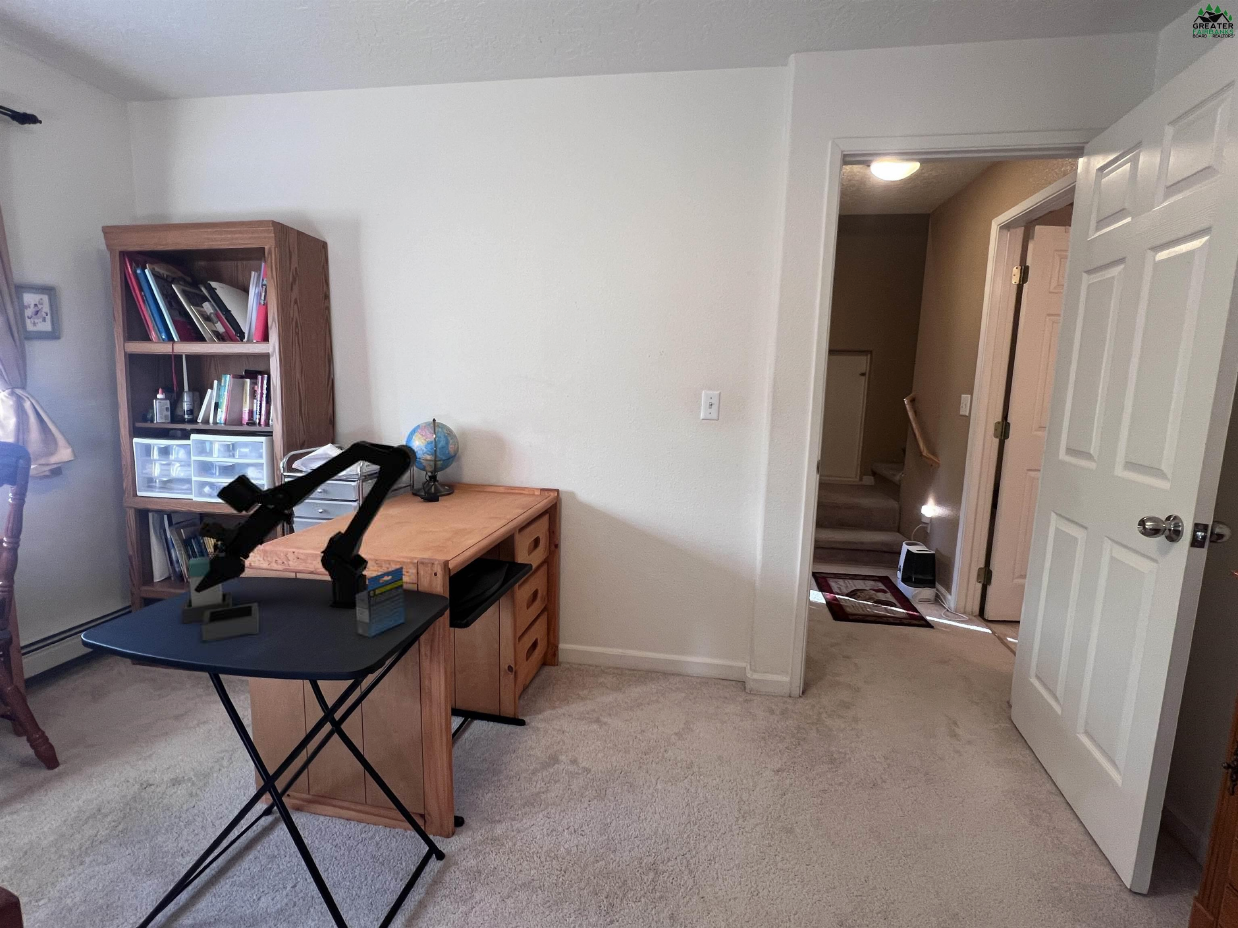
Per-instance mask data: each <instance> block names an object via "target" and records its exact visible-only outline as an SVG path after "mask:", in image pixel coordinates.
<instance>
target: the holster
mask: <svg viewBox="0 0 1238 928" xmlns="http://www.w3.org/2000/svg"><path fill="white" fill-rule="evenodd" d="M222 600H223V602H222V603H216V604H209V605H202V606H195V607H192V600H191V596H190V597H185V599H184V602H183V604H182V608H181V616H182V624H191V623H196V622H202V621H203V617H204V612H205V611H207V610H213V609H220V608H226V607H233V600H232V591H228V592H222Z"/></svg>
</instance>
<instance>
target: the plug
mask: <svg viewBox="0 0 1238 928" xmlns="http://www.w3.org/2000/svg"><path fill="white" fill-rule="evenodd" d="M210 557H212V555H210V556H203V557H194V558H193V557H192V558H190V559H189V561H188V574H189V588H190V597H191V600H192V607H195V606H202V605H209V604H216V603H222V602H223V600H222V593H223V589H222V583H221V584H218V585H216V586H214V587H212V588H209V589H207V590H205V591H202V592H200V593H197V592H196V591H194V589H195V588H196V586H197V585H198V584H199V582H200V581H201V579H202V578H203V577H204V575H205V574H206V573H207V571H208V570H209V569H210V565H209V559H210Z"/></svg>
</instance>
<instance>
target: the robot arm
mask: <svg viewBox="0 0 1238 928" xmlns="http://www.w3.org/2000/svg"><path fill="white" fill-rule="evenodd" d="M417 460H418V455H417V452H416V451H415V449H414V448H413V447H412V446H410V445H408V444H399V445H396V446H395V445H389V444H383V443H376V442H370V441H368V440H359V441H356V442H354V443H353V442H352V444H351V445H350V446H349V447H348V448H346V449H344V450H342V451H341V452H340V453H337V454H336V455H335V456H332V457H331V458H329V459H328V460H327V461H324V462H323V463H321V464H320V465H319V466H317V467H315V468H313V469H312V470H310V471H309V472H307V473H306V474H303V475H300V476H297V477H295V478H293V479H290V480H288V481H285V482H283V483H280V484H277V485H275V486H274V487H272V488H271V487H269V488H266V489H262V488H260V487H259V486H258V485H257V484H255V483H254V482H253V481H252V480H251V479H250V478H249V477H248V476H247V475H246V474H243V473H242V474H240V475H238V476H237V477H236V478H235V479H233V480H232V481H230V482H229V483H228V484H226V485H225V486H223V487H221V489H220V490H219V491H218V492H217V494H216V497H217V498H218V499H220V500H221V501H222V502H224V503H225V504H226V505H228V507H230V508H231V509H233V511H235V512H236V513H237V514H243V513H246V514H249V513H250V514H249V516H248V517H246V518H245V519H244V520H241V521H238V522H237V523H236V524H232V523H228V522H225V521H222V520H219V519H215V518H211V517H204V519H203V521H202V522H201V525H200V527H199V529H198V530H197V532H196V533H197V534H196V535H197V537H201V538H204V539H205V538H208V539H211V540H214V542H213V544H212V547H213V548H212V549H213V554H212V555H211V556H212V557H210V556H209V557H210V559H209V565H210V569H209V570H208V571H207V573H206V574H205V575H204V577H203V578H202V579H201V581H200V582H199V584H198V585H197V586H196V588H195V589H194V591H196V592H197V593H200V592H202V591H205V590H207V589H209V588H212V587H214V586H216V585H218V584H221V585H222V584H223V583H225V582H227V581H230V580H234V579H239V578H240V577H241V576H242V575H243V574H244V573H245V572H246V561H247V560H248V559H249V558H250V555H251V553H253V552H254V551H255V550H256V549H257V548H258V547H259V546H262V545H264V544H265V543H266V540H267V538H268V537H269V536H270V535H271V534H273V532H274V531H275V530H277V528H278V527H280V525H281V524H282V523H283V522H284V523H285V524H286V525H287V526H293V525H295V518H294V516H295V512H289V513H288V512H287V511H289V510H292V509H294V508H296V507H298V506H300V505H302V504H303V503H304V502H305V501H307V500H308V499H309V498H311V496H312V495H313V494H314V493H316V491H317V490H318V489H319V488H320V487H321V486H322V485H324V484H326V483H327V482H329V481H330V480H332V479H333V478H335V477H337V476H339V475H340V474H342V473H343V472H345V471H346V470H348V469H350V468H351V467H353V466H355V465H356V464H358V463H360V462H361V461H362V462H365V463H369V464H371V465H373V466H378V467H379V468H378V473H377V475H376V476H377V477H376V479H375V481H374V483H373V484H372V486H371V488H370V489H369V491H368V493H367V494H366V497H365V498H364V499H363V501H362V503H361V504H360V506H359V507H358V509H357V511H356V513H355V514H354V515H353V517H352V519H351V520H350V522H349V524H348V525H347V527H346V529H345V530H344V532H342V531H341V530H338V531H337V532H336V533H334V534H333V535H332V536H330V537H329V539H328V541H327V544H326V547H324V548H323V550H321V551H320V553H319V554H321V558H320V564H321V567H322V568H323V569H324V571H325V572H326V573H327V574H328V575H329V578H330V580H331V599H332V601H331V602H329V603H328V604H329V606H331V607H339V608H348V609H349V608H351V609H356V595H357V594H359V593H362V592H364V591H367V590H368V579H367V574H364V571H366V570H367V568H368V565H369V561H368V560H367V559H366V558H365V557H363V555H362V554H361V553H360V550H361V549H362V544H363V540H364V537H365V535H366V533H367V531H368V530H369V528H370V526H371V525H372V523H373V522H374V519H375V518H376V516H377V515H378V513H379V512H380V510H381V509H382V507H383V505H384V504H385V503H386V500H387V499H388V497H389V496H390V494H391V492H392V491H393V490H394V488H395V486H396V485H398V483H399V482H400V481H401V480H402V479H403V478H404V477H405V476H406V475H407V474H408V473H409V472H410V470H411V469H412V468H413V467H414V466H415V465H416V463H417ZM252 511H253V512H252ZM251 512H252V513H251Z"/></svg>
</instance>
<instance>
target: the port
mask: <svg viewBox="0 0 1238 928" xmlns="http://www.w3.org/2000/svg"><path fill="white" fill-rule="evenodd" d="M259 616H260V615H259V605H258V602H254V603H247V604H240V605H235V606H234V605H232V607H226V608H220V609H213V610H207V611H205V612H204V617H203V621H201V622H202V623H201V636H202V643H203V644H204V643H205V644H206V643H210V642H216V641H217V642H218V641H222V640H227V639H234V638H240V637H246V636H250V635H255V634H259V633H260V632H259V631H260V628H259V627H260V626H259V624H260V623H259V620H260V617H259Z"/></svg>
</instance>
